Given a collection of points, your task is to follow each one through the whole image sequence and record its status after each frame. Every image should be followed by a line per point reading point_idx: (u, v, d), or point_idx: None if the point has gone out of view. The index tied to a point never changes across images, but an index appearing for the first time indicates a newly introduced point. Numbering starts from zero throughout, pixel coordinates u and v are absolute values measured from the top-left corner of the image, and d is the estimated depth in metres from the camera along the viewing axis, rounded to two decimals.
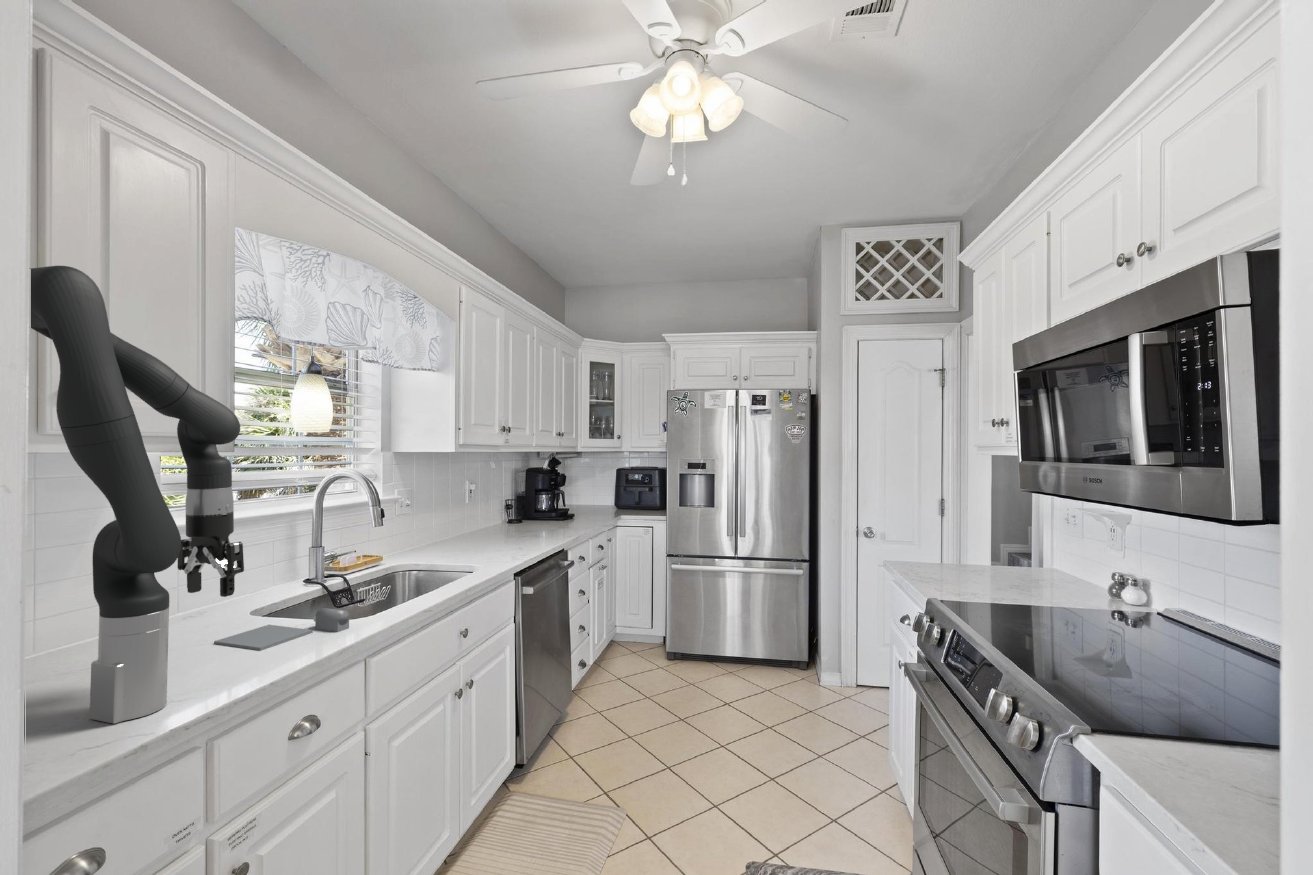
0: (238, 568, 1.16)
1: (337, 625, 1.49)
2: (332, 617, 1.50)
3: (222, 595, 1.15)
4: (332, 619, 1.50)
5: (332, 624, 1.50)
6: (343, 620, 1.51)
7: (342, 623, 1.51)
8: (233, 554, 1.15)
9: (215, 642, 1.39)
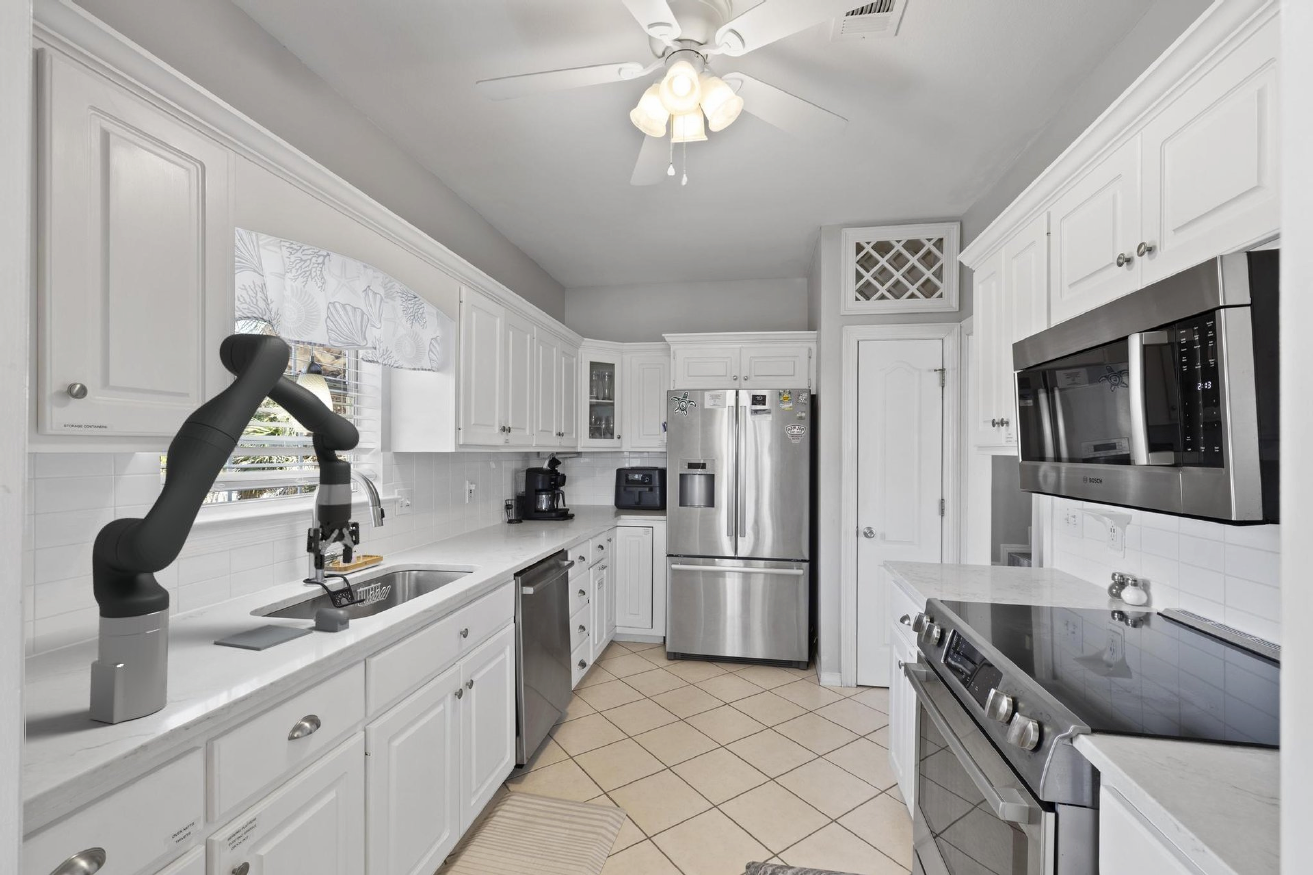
0: None
1: (337, 625, 1.49)
2: (332, 617, 1.50)
3: (350, 561, 1.56)
4: (332, 619, 1.50)
5: (332, 624, 1.50)
6: (343, 620, 1.51)
7: (342, 623, 1.51)
8: None
9: (215, 642, 1.39)
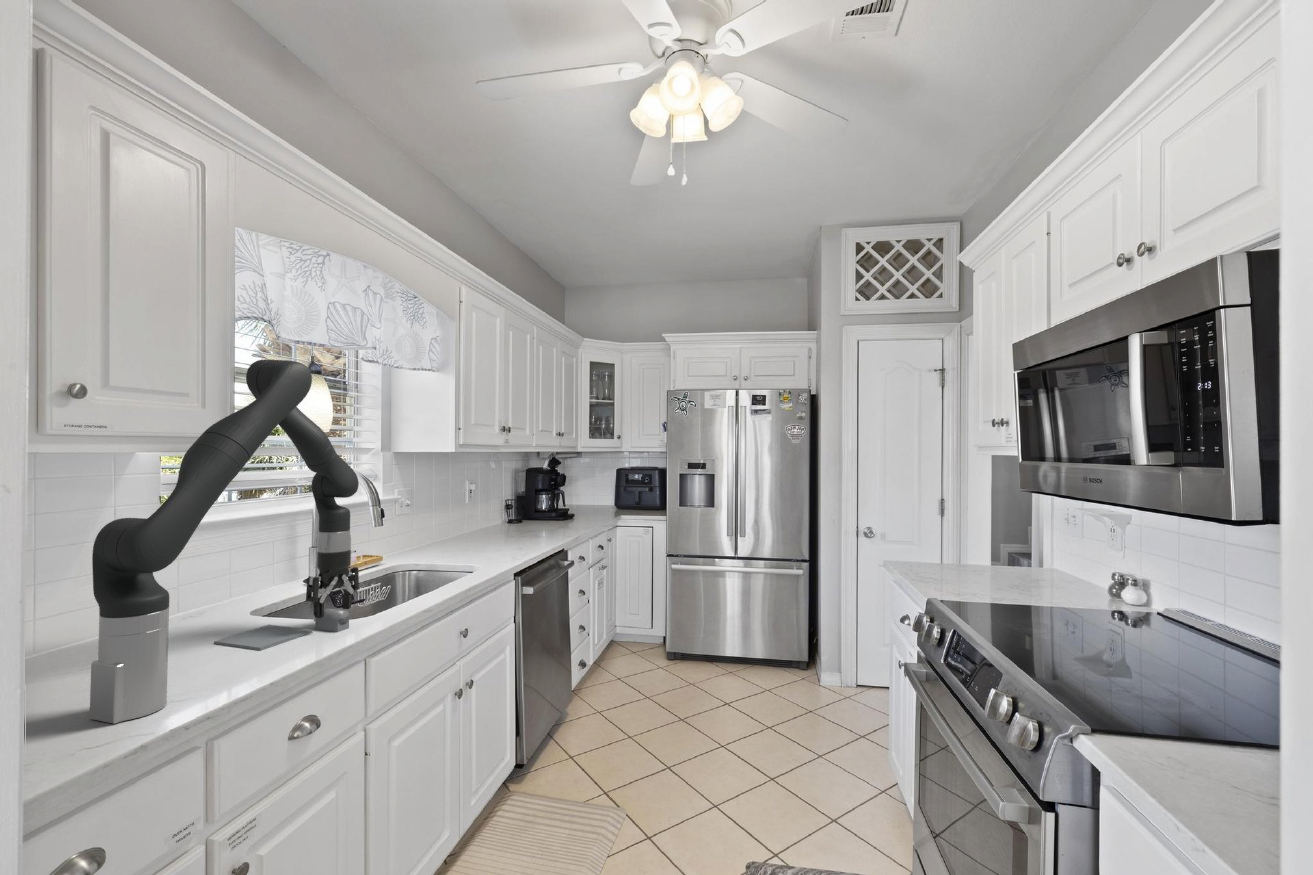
0: None
1: (337, 625, 1.49)
2: (332, 617, 1.50)
3: (350, 607, 1.56)
4: (332, 619, 1.50)
5: (332, 624, 1.50)
6: (343, 620, 1.51)
7: (342, 623, 1.51)
8: None
9: (215, 642, 1.39)
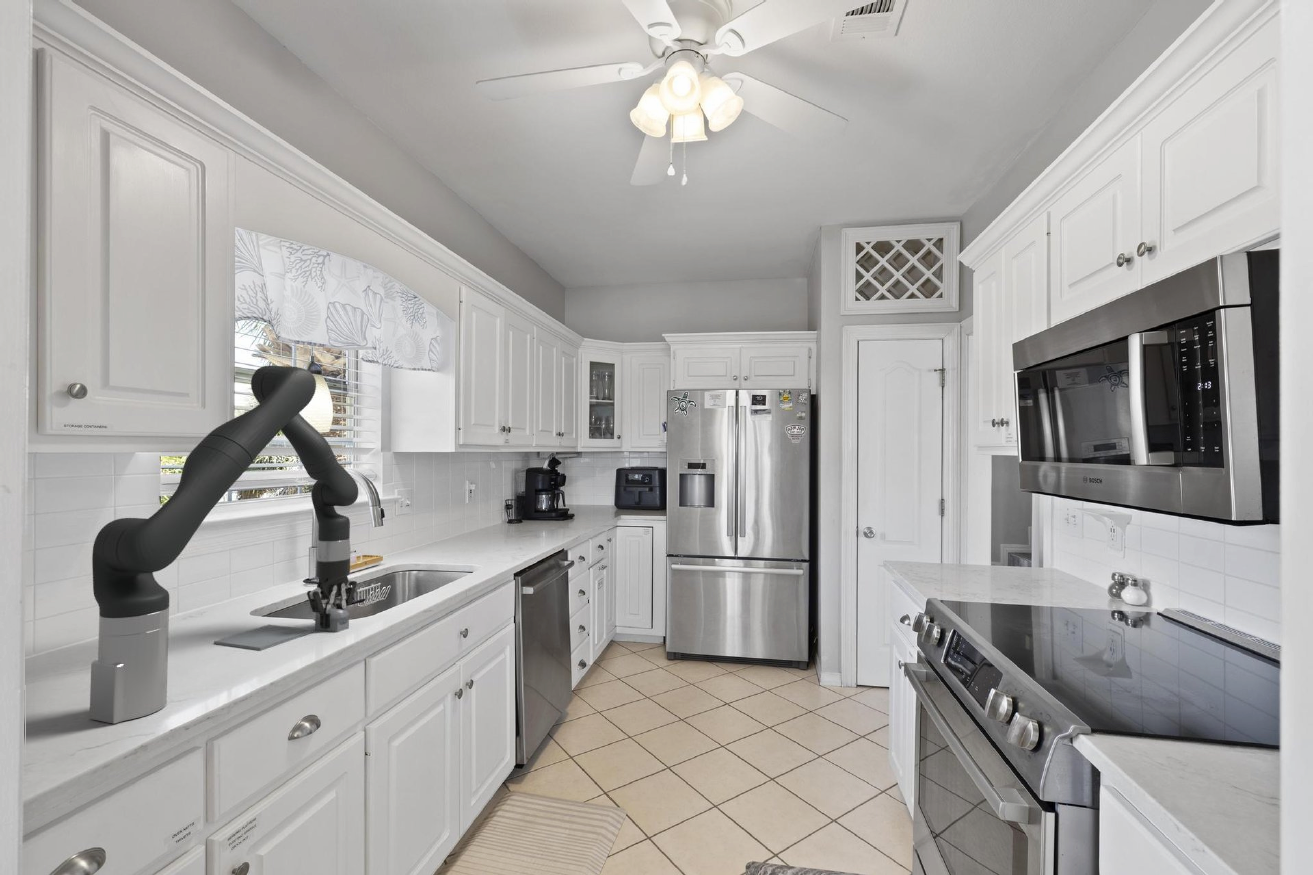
0: None
1: (336, 625, 1.49)
2: (332, 617, 1.50)
3: None
4: (332, 618, 1.50)
5: (332, 623, 1.50)
6: (343, 620, 1.51)
7: (342, 622, 1.51)
8: None
9: (215, 642, 1.39)
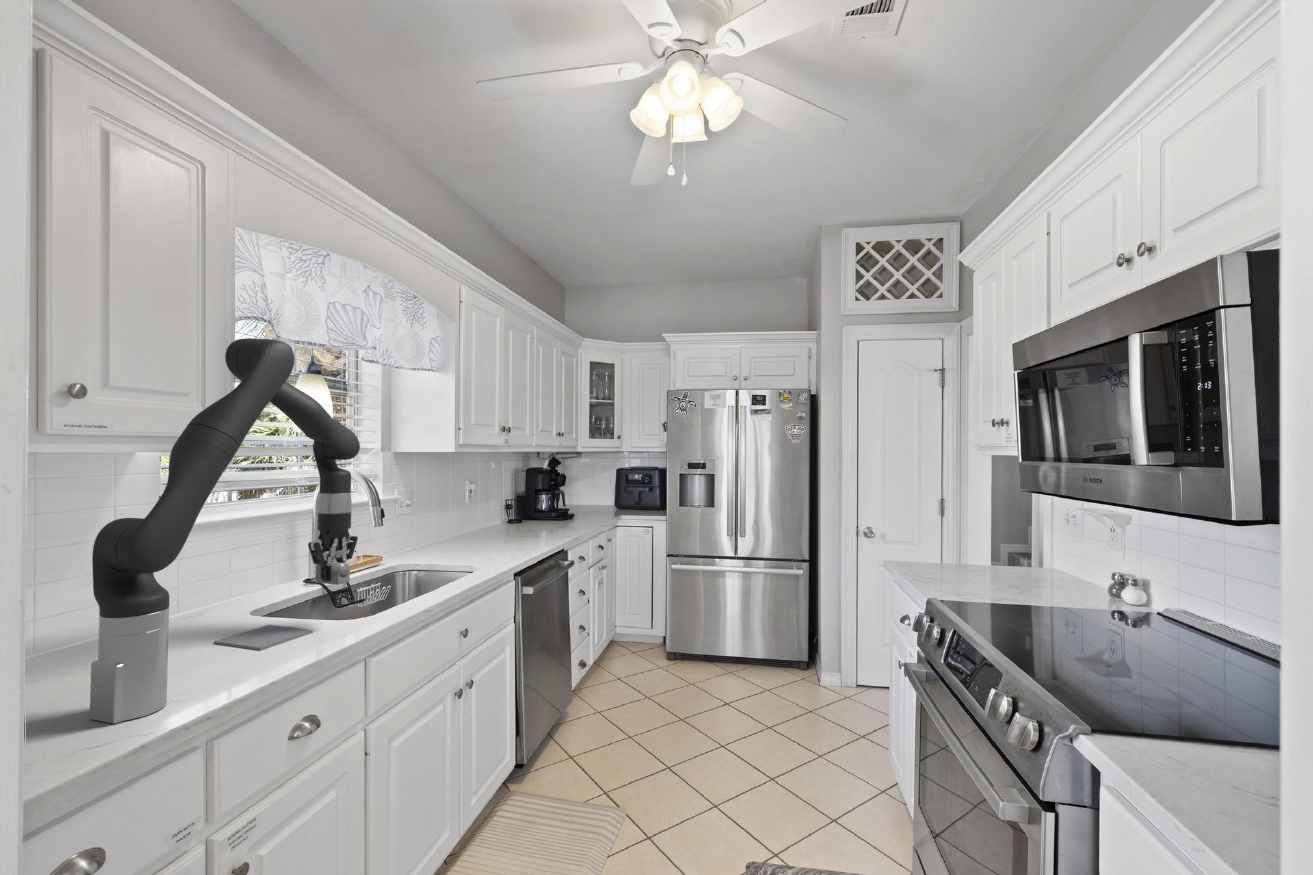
0: None
1: (337, 577, 1.49)
2: (333, 569, 1.50)
3: None
4: (333, 571, 1.50)
5: (333, 576, 1.50)
6: (344, 573, 1.51)
7: (342, 575, 1.51)
8: None
9: (215, 642, 1.39)
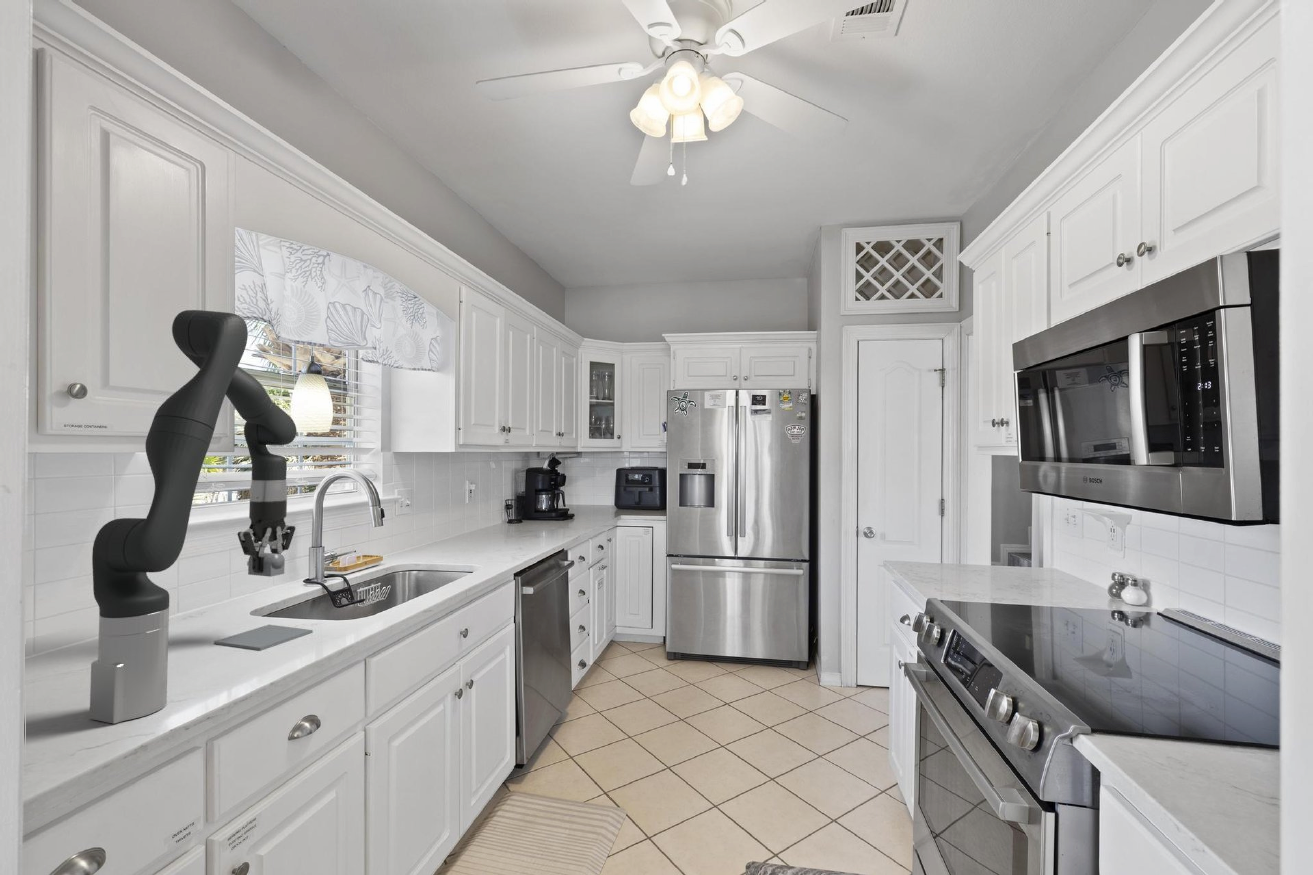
0: None
1: (270, 569, 1.42)
2: (265, 560, 1.42)
3: None
4: (265, 562, 1.42)
5: (265, 567, 1.42)
6: (277, 564, 1.43)
7: (276, 567, 1.43)
8: None
9: (215, 642, 1.39)
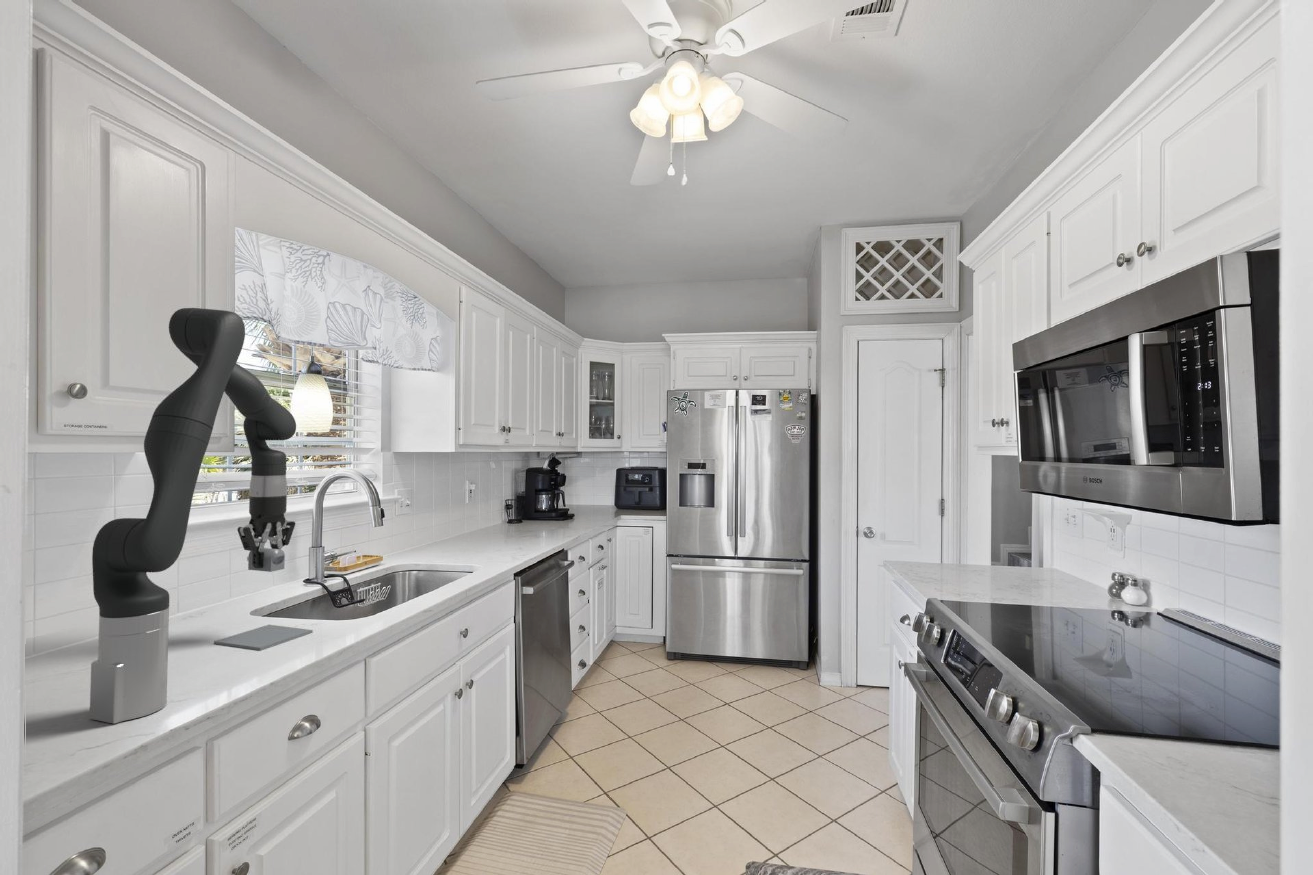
0: None
1: (270, 564, 1.42)
2: (265, 555, 1.42)
3: None
4: (265, 557, 1.42)
5: (265, 562, 1.42)
6: (277, 559, 1.43)
7: (276, 562, 1.43)
8: None
9: (215, 642, 1.39)
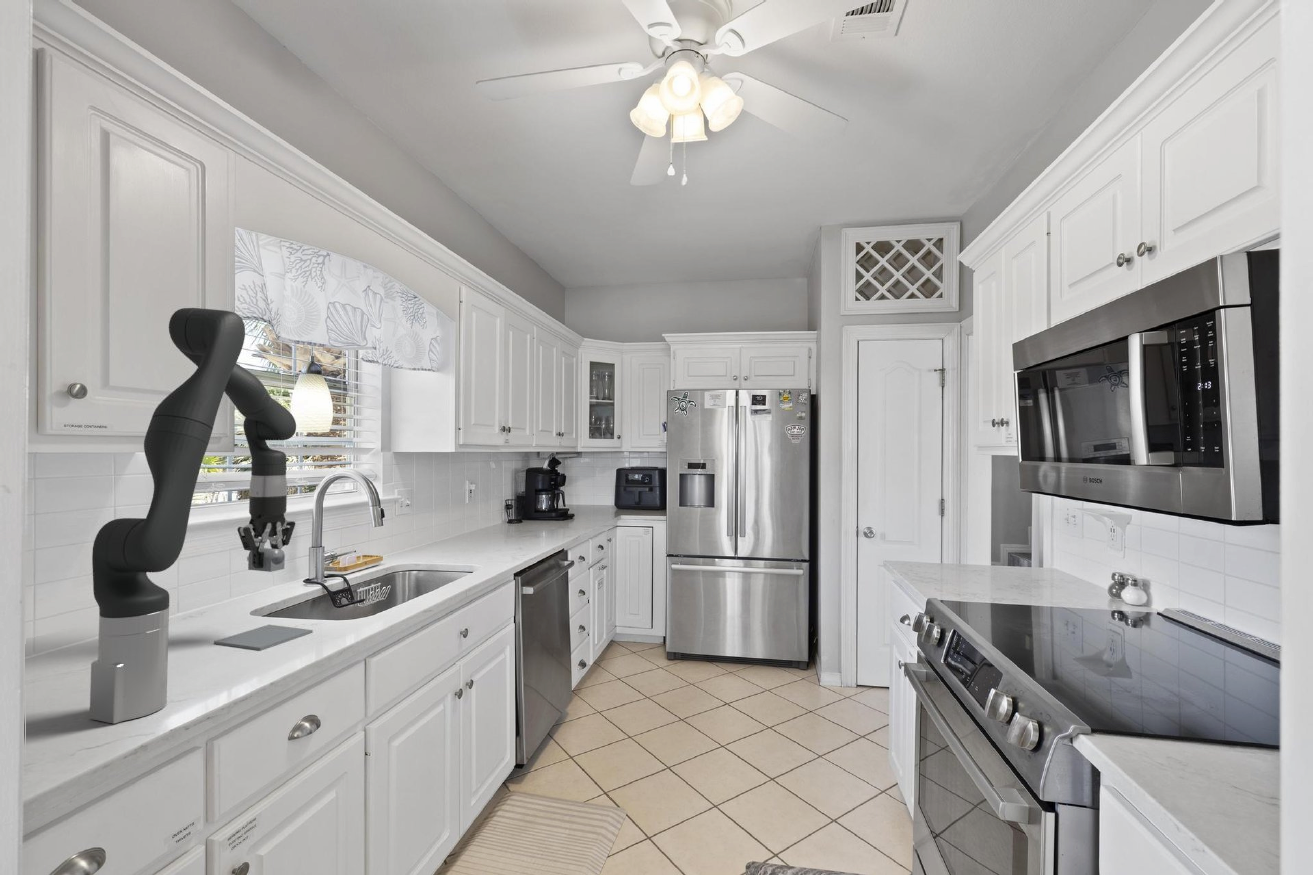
0: None
1: (270, 564, 1.42)
2: (265, 555, 1.42)
3: None
4: (265, 557, 1.42)
5: (265, 562, 1.42)
6: (277, 559, 1.43)
7: (276, 562, 1.43)
8: None
9: (215, 642, 1.39)
